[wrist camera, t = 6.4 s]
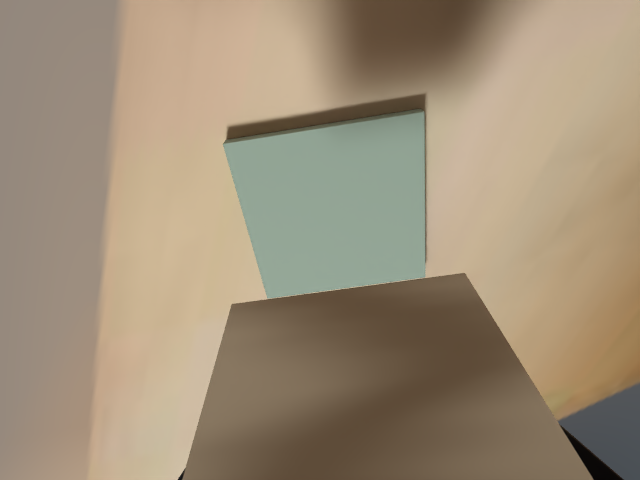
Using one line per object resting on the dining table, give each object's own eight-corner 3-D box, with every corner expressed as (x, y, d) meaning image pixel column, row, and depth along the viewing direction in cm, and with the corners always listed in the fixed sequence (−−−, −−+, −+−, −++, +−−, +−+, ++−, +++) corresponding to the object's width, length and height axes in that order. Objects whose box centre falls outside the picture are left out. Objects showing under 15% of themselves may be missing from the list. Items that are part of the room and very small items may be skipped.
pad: (420, 108, 15) (424, 111, 14) (422, 270, 19) (425, 277, 18) (225, 139, 15) (222, 143, 15) (268, 291, 19) (267, 298, 19)
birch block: (464, 272, 8) (663, 592, 3) (455, 417, 10) (562, 706, 6) (231, 304, 8) (137, 637, 4) (279, 437, 10) (257, 726, 6)
